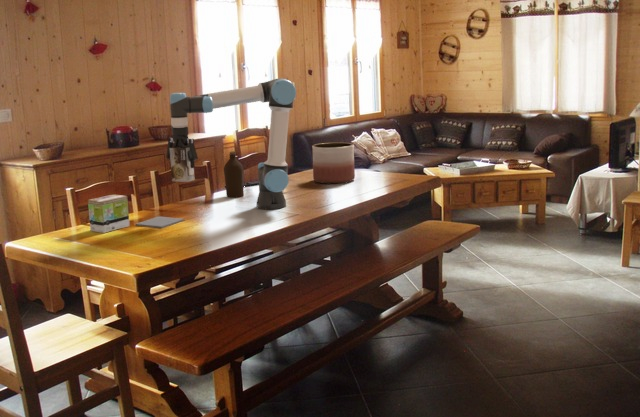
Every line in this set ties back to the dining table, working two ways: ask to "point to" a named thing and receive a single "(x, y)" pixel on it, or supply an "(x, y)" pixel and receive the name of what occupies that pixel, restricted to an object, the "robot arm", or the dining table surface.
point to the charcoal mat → (160, 222)
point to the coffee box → (180, 164)
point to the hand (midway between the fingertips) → (182, 174)
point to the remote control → (250, 184)
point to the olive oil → (233, 177)
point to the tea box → (108, 213)
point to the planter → (333, 163)
